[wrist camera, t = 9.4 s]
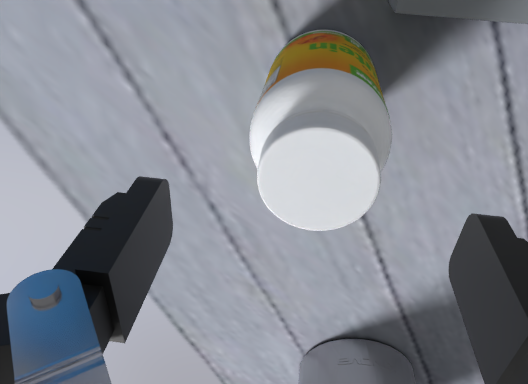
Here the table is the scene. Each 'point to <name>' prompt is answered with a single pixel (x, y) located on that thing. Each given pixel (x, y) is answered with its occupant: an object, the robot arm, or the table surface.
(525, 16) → the breaker panel
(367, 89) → the supplement bottle
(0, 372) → the robot arm
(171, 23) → the table surface
